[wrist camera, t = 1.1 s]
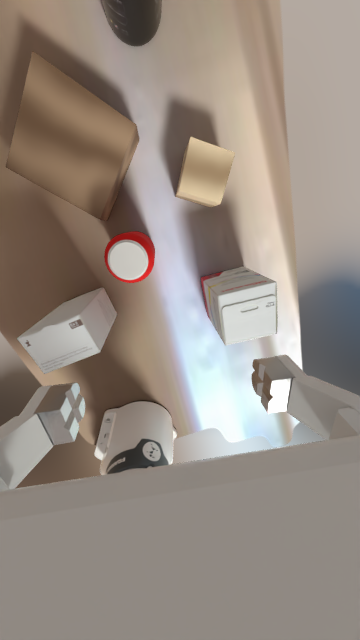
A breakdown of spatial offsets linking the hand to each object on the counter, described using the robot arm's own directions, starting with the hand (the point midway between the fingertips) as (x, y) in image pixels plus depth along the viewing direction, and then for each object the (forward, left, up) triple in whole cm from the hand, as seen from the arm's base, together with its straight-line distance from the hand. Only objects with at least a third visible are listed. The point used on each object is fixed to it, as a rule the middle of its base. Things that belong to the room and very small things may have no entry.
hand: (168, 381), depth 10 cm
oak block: (+15, +1, -31) cm, 34 cm away
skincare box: (-12, +8, -31) cm, 34 cm away
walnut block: (+9, +17, -31) cm, 36 cm away
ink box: (+2, -13, -31) cm, 34 cm away
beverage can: (+1, +5, -31) cm, 31 cm away
